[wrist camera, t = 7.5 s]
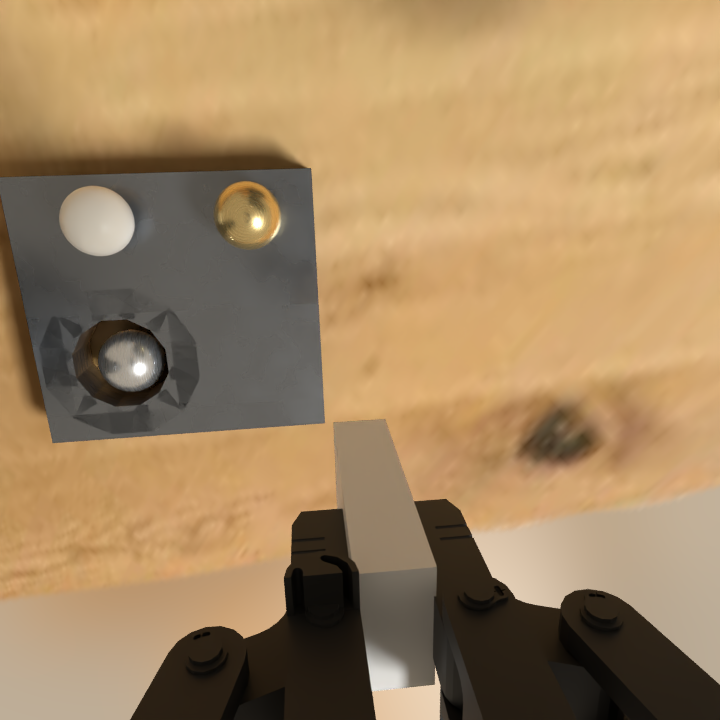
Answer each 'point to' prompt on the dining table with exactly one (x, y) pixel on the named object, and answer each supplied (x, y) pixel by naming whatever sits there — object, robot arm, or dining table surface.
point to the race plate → (172, 306)
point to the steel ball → (131, 360)
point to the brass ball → (247, 215)
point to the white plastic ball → (96, 220)
